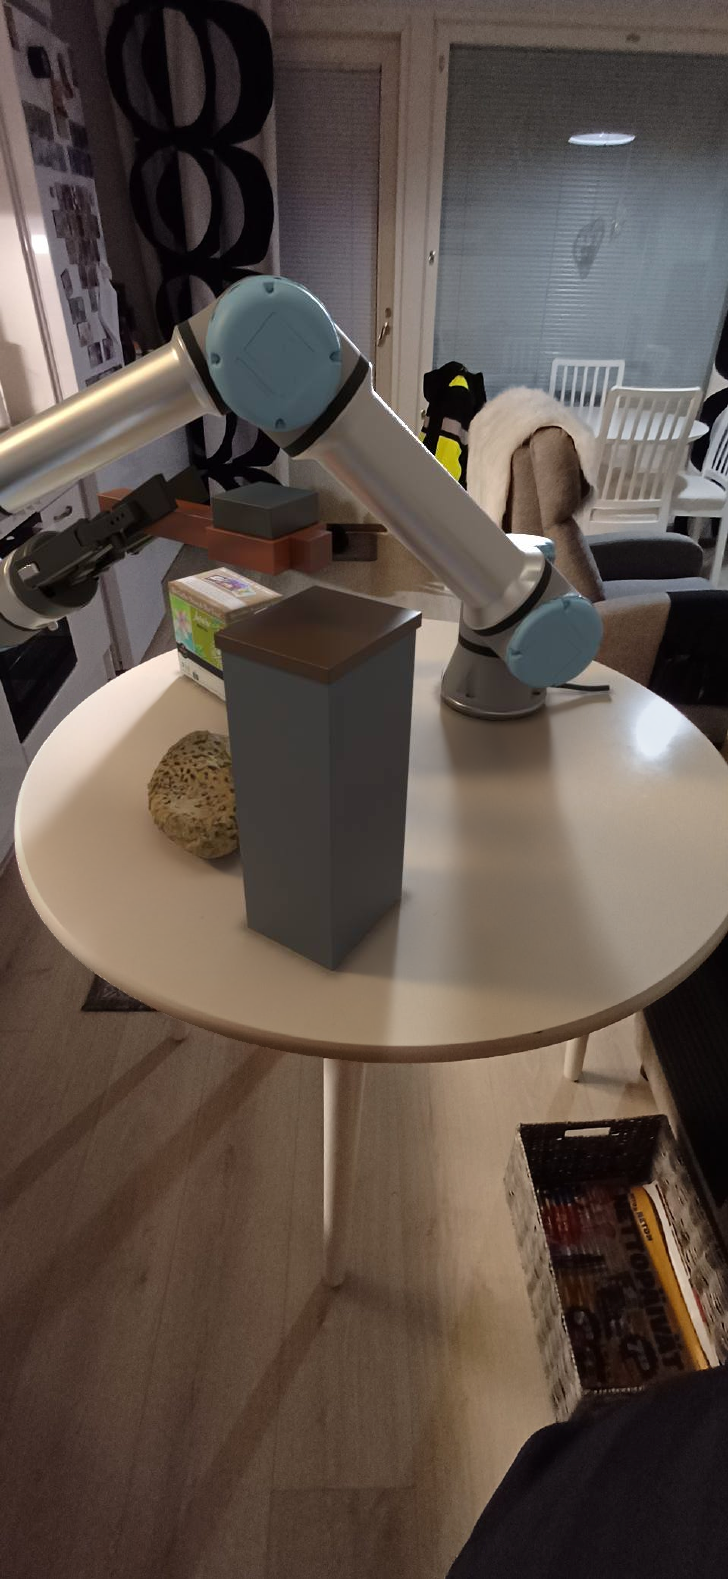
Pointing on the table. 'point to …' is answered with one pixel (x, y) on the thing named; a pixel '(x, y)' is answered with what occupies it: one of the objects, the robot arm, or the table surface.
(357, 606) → the pedestal
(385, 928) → the table surface
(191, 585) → the tea box
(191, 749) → the sponge
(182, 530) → the brush
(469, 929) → the table surface
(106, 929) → the table surface
